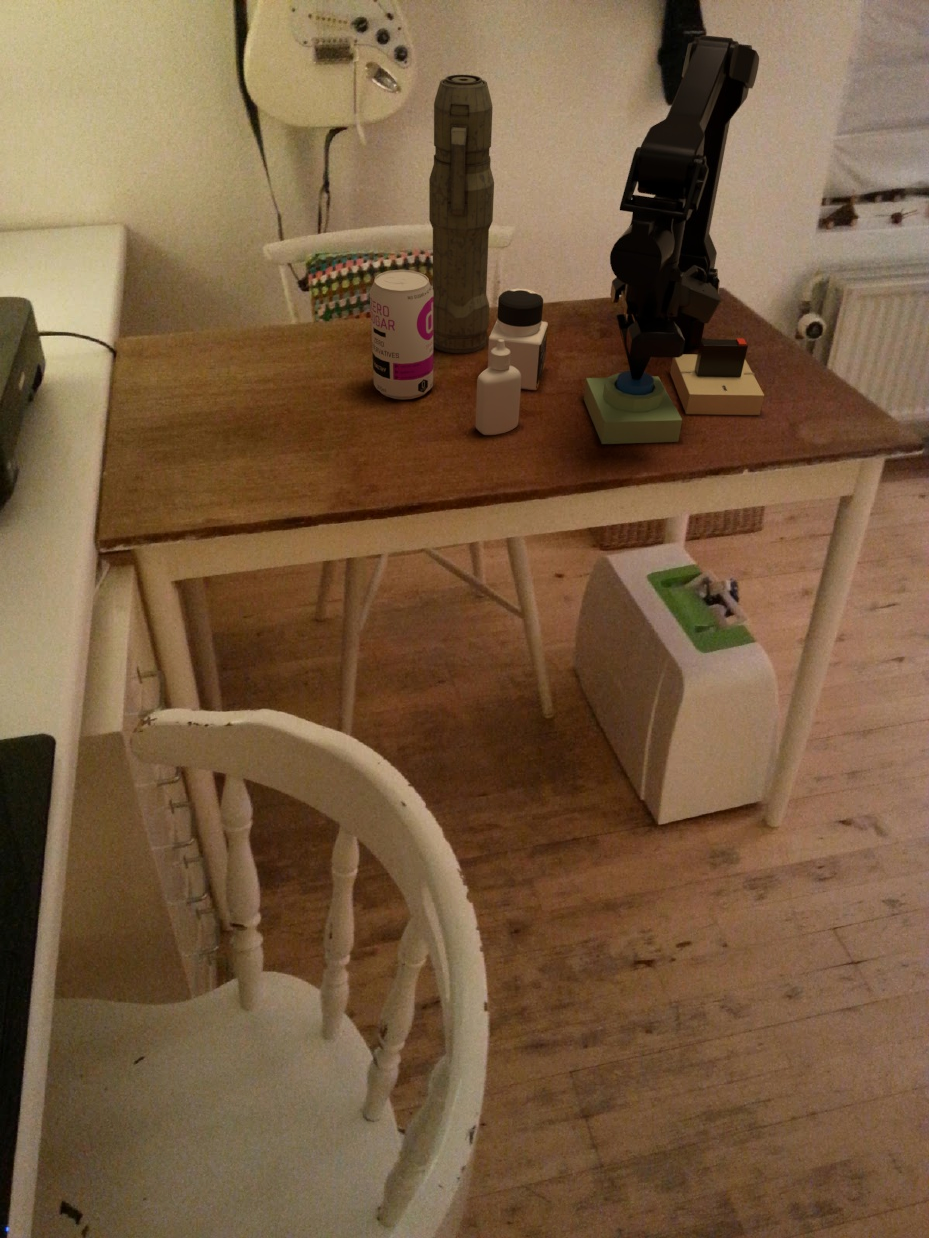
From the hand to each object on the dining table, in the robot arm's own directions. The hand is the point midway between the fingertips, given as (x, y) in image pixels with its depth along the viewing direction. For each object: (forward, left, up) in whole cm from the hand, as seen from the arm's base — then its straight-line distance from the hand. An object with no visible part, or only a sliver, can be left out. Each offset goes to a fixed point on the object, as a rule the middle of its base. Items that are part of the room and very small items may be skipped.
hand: (635, 378), depth 122 cm
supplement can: (-24, -20, -6) cm, 32 cm away
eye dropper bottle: (-8, -16, -6) cm, 19 cm away
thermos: (-32, -5, -6) cm, 33 cm away
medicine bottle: (-18, -5, -6) cm, 20 cm away
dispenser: (0, 0, -6) cm, 6 cm away
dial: (+1, +15, -3) cm, 15 cm away
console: (+1, +15, -6) cm, 16 cm away
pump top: (0, 0, -2) cm, 2 cm away
